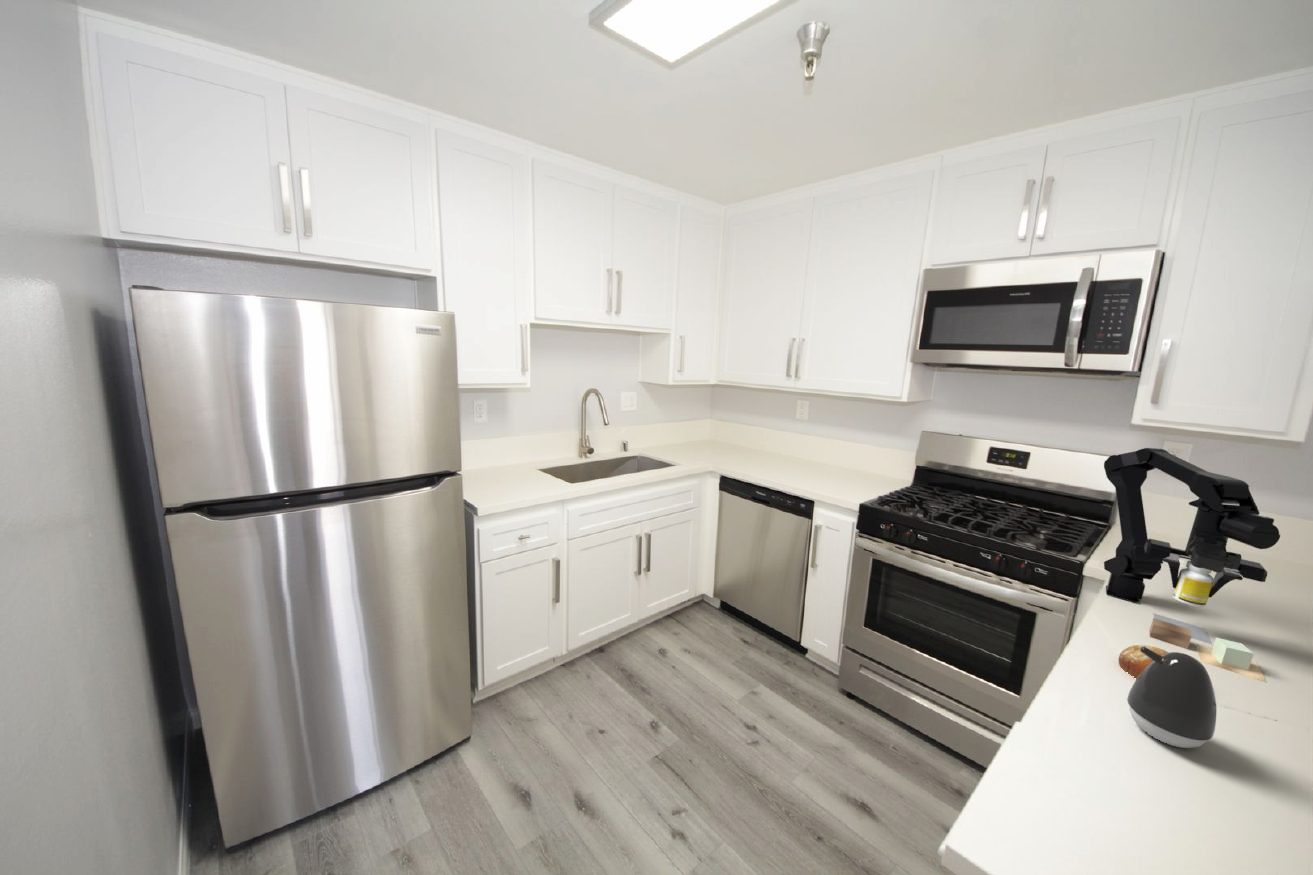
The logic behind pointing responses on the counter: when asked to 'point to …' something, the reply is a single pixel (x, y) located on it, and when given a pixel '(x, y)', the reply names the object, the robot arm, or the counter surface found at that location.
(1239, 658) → the sage cube
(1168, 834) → the counter surface
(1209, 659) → the cork coaster
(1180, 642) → the walnut block
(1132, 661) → the bread roll
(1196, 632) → the slate coaster
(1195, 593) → the supplement bottle
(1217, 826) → the counter surface
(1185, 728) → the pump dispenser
